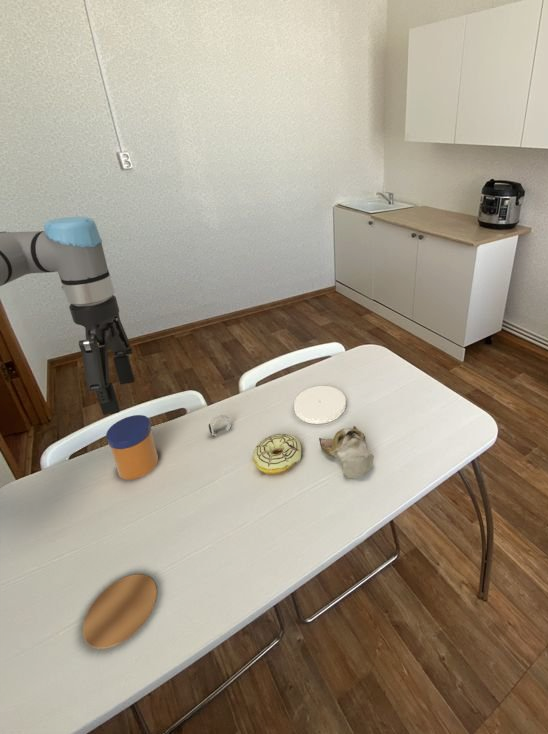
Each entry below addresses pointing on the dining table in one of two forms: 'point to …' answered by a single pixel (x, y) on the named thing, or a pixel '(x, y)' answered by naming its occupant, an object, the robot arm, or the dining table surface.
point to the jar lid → (128, 431)
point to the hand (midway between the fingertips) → (120, 396)
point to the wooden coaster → (119, 611)
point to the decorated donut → (280, 462)
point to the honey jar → (136, 459)
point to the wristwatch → (216, 420)
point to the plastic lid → (320, 404)
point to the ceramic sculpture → (349, 451)
